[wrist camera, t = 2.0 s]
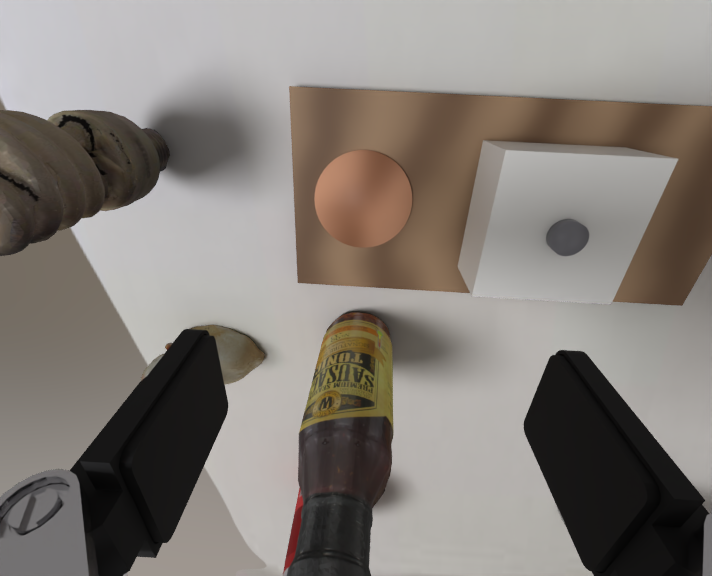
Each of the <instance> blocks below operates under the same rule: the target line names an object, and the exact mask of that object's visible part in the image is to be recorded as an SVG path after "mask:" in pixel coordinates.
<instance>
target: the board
mask: <svg viewBox="0 0 712 576" xmlns="http://www.w3.org/2000/svg"><path fill="white" fill-rule="evenodd" d="M289 90H290V113H291V136H292V159H293V182H294V205H295V228H296V251H297V274H298V283H309V284H326V285H343V286H360V287H377V288H393V289H410V290H427V291H444V292H461V293H470V292H469V290H468V287H467V285H466V283H465V281H464V279H463V277H462V275H461V273H460V271H459V269H458V262H459V257H460V252H461V247H462V243H463V238H464V233H465V228H466V223H467V218H468V213H469V208H470V203H471V198H472V193H473V188H474V183H475V178H476V173H477V168H478V163H479V158H480V153H481V148H482V143H483V140H487V141H507V142H527V143H547V144H567V145H587V146H607V147H626V148H630V149H635V150H640V151H644V152H649V153H654V154H658V155H663V156H668V157H672V158H677V159H678V161H677V163H676V165H675V168H674V170H673V172H672V174H671V176H670V178H669V181H668V183H667V185H666V187H665V189H664V191H663V194H662V196H661V198H660V200H659V202H658V204H657V207H656V209H655V211H654V213H653V215H652V217H651V219H650V222H649V224H648V226H647V228H646V230H645V232H644V235H643V237H642V239H641V241H640V243H639V245H638V248H637V250H636V252H635V254H634V256H633V258H632V261H631V263H630V265H629V267H628V269H627V271H626V273H625V276H624V278H623V280H622V282H621V284H620V286H619V289H618V291H617V293H616V295H615V297H614V299H613V302H630V303H647V304H664V305H681V306H682V305H683V303H684V301H685V300H686V298H687V296H688V294H689V293H690V291H691V289H692V288H693V286H694V284H695V282H696V281H697V279H698V277H699V275H700V274H701V272H702V270H703V269H704V267H705V265H706V263H707V262H708V260H709V258H710V256H711V255H712V106H691V105H670V104H649V103H628V102H607V101H586V100H565V99H544V98H523V97H502V96H481V95H460V94H439V93H418V92H397V91H376V90H355V89H334V88H313V87H291V86H289Z"/></svg>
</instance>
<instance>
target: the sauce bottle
mask: <svg viewBox="0 0 712 576" xmlns="http://www.w3.org/2000/svg"><path fill="white" fill-rule="evenodd" d="M392 439H393V362H392V344H391V340H390V333H389V330H388V328H387V326H386V325H385V324H384V323H383V322H382V321H381V320H380V319H379V318H377V317H376V316H373V315H371V314H367V313H360V312H355V313H354V312H351V313H349V314H344V315H342V316H340V317H339V318H337V319H336V320H335V321H334V322H333V323H332V324H331V326H329V328H328V329H327V332H326V334H325V336H324V338H323V342H322V345H321V349H320V353H319V357H318V361H317V365H316V369H315V373H314V377H313V381H312V385H311V389H310V393H309V397H308V401H307V405H306V409H305V412H304V416H303V420H302V424H301V428H300V432H299V467H298V481H299V486H300V489H301V493H302V498H303V508H302V512H301V519H302V521H301V527H300V531H299V536H298V542H297V547H296V552H295V556H294V559H293V561H292V563H291V565H290V566H289V568H288V571H287V576H371V574H370V570H369V551H370V535H371V533H370V530H371V527H372V521H373V517H372V508H373V506H374V505H375V504H376V503H377V501H378V500H379V499H380V497H381V496H382V494H383V493H384V491H385V487H386V484H387V481H388V479H389V477H390V472H391V465H392V450H391V443H392Z"/></svg>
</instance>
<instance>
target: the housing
mask: <svg viewBox="0 0 712 576" xmlns="http://www.w3.org/2000/svg"><path fill="white" fill-rule="evenodd" d="M677 161H678V159H677V158H672V157H668V156H663V155H658V154H654V153H649V152H644V151H640V150H635V149H630V148H626V147H607V146H587V145H567V144H547V143H527V142H507V141H487V140H483V143H482V148H481V153H480V158H479V163H478V168H477V173H476V178H475V183H474V188H473V193H472V198H471V203H470V208H469V213H468V218H467V223H466V228H465V233H464V238H463V243H462V247H461V252H460V257H459V262H458V269H459V271H460V273H461V275H462V277H463V279H464V281H465V283H466V285H467V287H468V290H469V292H470V294H471V296H474V297H491V298H507V299H524V300H541V301H558V302H575V303H592V304H609V305H611V304H612V302H613V299H614V297H615V295H616V293H617V291H618V289H619V286H620V284H621V282H622V280H623V278H624V276H625V273H626V271H627V269H628V267H629V265H630V263H631V261H632V258H633V256H634V254H635V252H636V250H637V248H638V245H639V243H640V241H641V239H642V237H643V235H644V232H645V230H646V228H647V226H648V224H649V222H650V219H651V217H652V215H653V213H654V211H655V209H656V207H657V204H658V202H659V200H660V198H661V196H662V194H663V191H664V189H665V187H666V185H667V183H668V181H669V178H670V176H671V174H672V172H673V170H674V168H675V165H676V163H677Z"/></svg>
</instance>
